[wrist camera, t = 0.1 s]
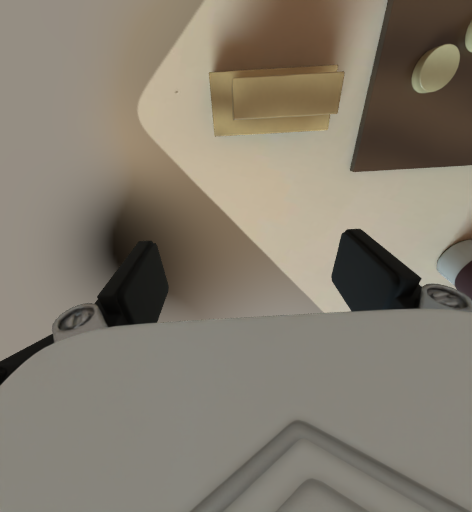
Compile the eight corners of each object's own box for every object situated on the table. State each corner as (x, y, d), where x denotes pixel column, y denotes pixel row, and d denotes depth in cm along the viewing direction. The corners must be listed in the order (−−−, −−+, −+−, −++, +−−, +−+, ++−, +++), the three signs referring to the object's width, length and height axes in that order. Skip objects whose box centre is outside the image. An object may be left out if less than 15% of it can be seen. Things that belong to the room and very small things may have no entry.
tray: (409, -95, 17) (418, -106, 16) (659, -109, 17) (681, -121, 16) (349, 170, 28) (353, 172, 27) (502, 161, 28) (511, 162, 27)
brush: (211, 78, 22) (201, 53, 14) (325, 71, 22) (379, 43, 14) (216, 135, 25) (210, 141, 17) (317, 129, 25) (359, 132, 17)
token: (419, 48, 21) (429, 44, 20) (456, 46, 21) (468, 42, 20) (405, 94, 23) (414, 93, 22) (439, 92, 23) (449, 90, 22)
